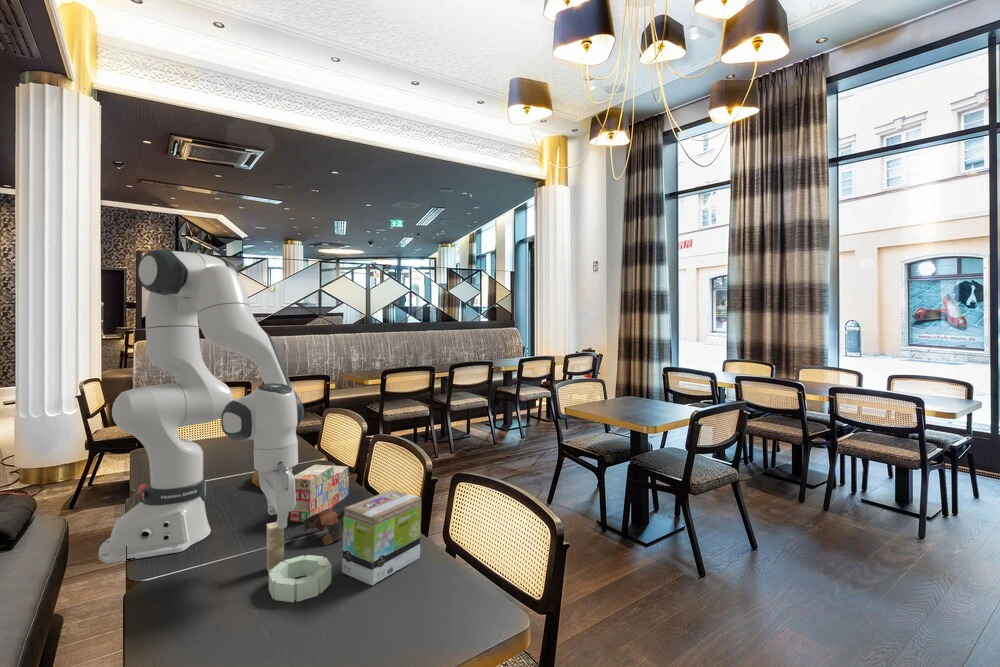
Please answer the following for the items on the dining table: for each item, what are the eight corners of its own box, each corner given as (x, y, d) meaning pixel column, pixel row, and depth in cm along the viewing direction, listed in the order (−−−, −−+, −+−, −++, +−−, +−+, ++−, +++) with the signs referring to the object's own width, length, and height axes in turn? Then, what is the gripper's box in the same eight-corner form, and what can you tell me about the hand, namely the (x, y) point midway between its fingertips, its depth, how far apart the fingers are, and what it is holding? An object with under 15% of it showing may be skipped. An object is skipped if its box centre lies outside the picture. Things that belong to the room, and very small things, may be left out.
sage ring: (276, 608, 93) (276, 590, 93) (265, 581, 103) (265, 565, 102) (336, 589, 100) (336, 572, 100) (321, 566, 109) (321, 550, 109)
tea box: (373, 587, 101) (374, 517, 100) (341, 573, 106) (341, 507, 106) (421, 558, 114) (422, 495, 113) (390, 547, 119) (391, 487, 118)
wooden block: (269, 574, 105) (269, 528, 105) (266, 568, 108) (266, 523, 108) (283, 570, 107) (284, 525, 107) (281, 564, 110) (281, 520, 109)
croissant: (253, 486, 170) (241, 468, 167) (280, 468, 175) (269, 450, 173) (267, 503, 153) (253, 483, 150) (296, 483, 158) (284, 463, 156)
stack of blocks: (330, 494, 154) (331, 455, 154) (349, 495, 153) (349, 457, 152) (289, 521, 133) (289, 477, 133) (310, 523, 132) (310, 478, 131)
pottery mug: (314, 552, 116) (301, 520, 118) (309, 554, 124) (298, 523, 126) (361, 528, 123) (349, 497, 125) (354, 531, 131) (342, 502, 133)
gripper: (303, 466, 100) (304, 532, 100) (281, 446, 117) (282, 503, 117) (270, 471, 96) (271, 540, 97) (252, 450, 113) (253, 509, 113)
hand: (277, 520), depth 107 cm, fingers open, 8 cm apart
